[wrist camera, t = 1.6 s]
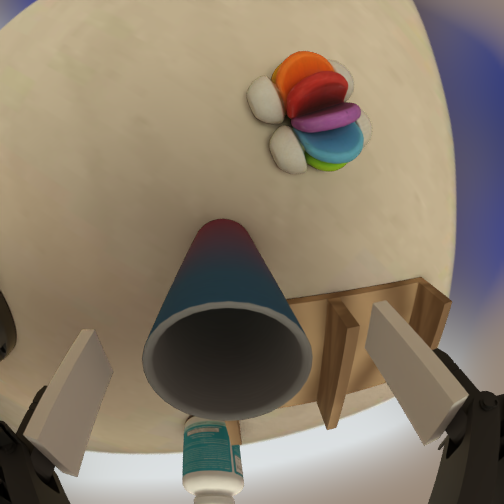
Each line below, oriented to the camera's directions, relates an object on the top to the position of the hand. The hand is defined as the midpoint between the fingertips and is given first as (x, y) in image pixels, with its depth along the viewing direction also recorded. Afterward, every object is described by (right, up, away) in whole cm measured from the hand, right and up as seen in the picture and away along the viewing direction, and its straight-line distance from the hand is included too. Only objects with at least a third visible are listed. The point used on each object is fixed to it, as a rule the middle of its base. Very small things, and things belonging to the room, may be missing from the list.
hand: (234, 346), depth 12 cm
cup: (-2, +5, +12) cm, 13 cm away
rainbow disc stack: (+5, +16, +9) cm, 19 cm away
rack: (+9, -7, +18) cm, 21 cm away
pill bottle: (-5, -20, +21) cm, 30 cm away
